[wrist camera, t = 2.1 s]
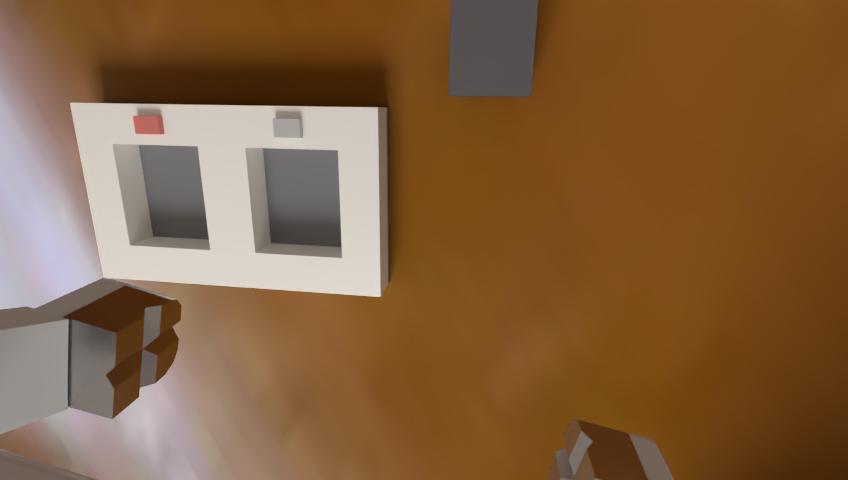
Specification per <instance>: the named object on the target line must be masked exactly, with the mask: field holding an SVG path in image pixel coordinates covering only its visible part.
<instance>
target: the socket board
mask: <svg viewBox="0 0 848 480" xmlns="http://www.w3.org/2000/svg"><path fill="white" fill-rule="evenodd" d="M70 106H71V111H72V116H73V121H74V126H75V132H76V137H77V142H78V147H79V152H80V157H81V163H82V168H83V173H84V178H85V183H86V188H87V194H88V199H89V204H90V209H91V214H92V219H93V224H94V230H95V235H96V240H97V245H98V250H99V255H100V261H101V266H102V271H103V276H104V277H105V278H120V279H134V280H148V281H162V282H176V283H191V284H205V285H219V286H233V287H247V288H262V289H276V290H290V291H304V292H318V293H333V294H347V295H361V296H375V297H381V295H382V294H383V292H384V290H385V289H386V287H387V285H388V283H389V282H390V274H389V154H388V107H338V106H271V105H205V104H138V103H70Z"/></svg>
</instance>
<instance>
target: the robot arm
mask: <svg viewBox="0 0 848 480" xmlns="http://www.w3.org/2000/svg"><path fill="white" fill-rule="evenodd" d="M180 320H181V304H180V303H179V302H178V300H176V299H173V298H170V297H167V296H164V295H161V294H158V293H155V292H151V291H148V290H145V289H142V288H139V287H136V286H131V285H130V284H127V283H123V282H120V281H116V280H113V279H105V278H102V279H100V280H98V281H95V282H93V283H91V284H89V285H87V286H84V287H82V288H80V289H78V290H75V291H73V292H71V293H69V294H66V295H64V296H62V297H60V298H58V299H55V300H53V301H51V302H49V303H46V304H44V305H42V306H40V307H37V308H35V309H33V308H30V307H19V308H11V309H3V310H0V434H2V433H5V432H8V431H10V430H13V429H15V428H18V427H21V426H23V425H26V424H29V423H31V422H34V421H37V420H39V419H42V418H45V417H47V416H50V415H53V414H55V413H58V412H61V411H63V410H66V409H67V408H68V407H71V408H75V409H78V410H82V411H85V412H89V413H93V414H96V415H100V416H103V417H107V418H110V419H113V418H114V417H115V416H117V415H118V414H119V413H120V412H121V411H123V410H124V409H125V408H126V407H127V406H129V405H130V404H131V403H132V402H133V401H135V400H136V399H137V398H138V397H139V389H140V387H143V386H147V385H150V384H154V383H156V382H157V381H158V380H159V379H160V378H161V377H163V376H164V375H165V374H166V372H167V371H168V369H169V368H170V366H171V365H172V363H173V361H174V359H175V356H176V353H177V349H178V340H179V339H178V337H177V335H176V333H175V331H174V329H173V326H175V325H176V324H177V323H178V322H179V321H180ZM563 435H564V440H565V444H566V447H565V448H563V449H561V450H560V451H558V452H556V453H555V456H554V459H553V461H552V464H551V466H550V472H549V477H548V480H674V479H673V477H672V475H671V473H670V471H669V469H668V467H667V465H666V463H665V461H664V459H663V457H662V455H661V453H660V451H659V449H658V447H657V445H656V443H655V442H654V441H652V440H651V439H650V438H646V437H642V436H638V435H634V434H630V433H627V432H622V431H618V430H614V429H611V428H607V427H603V426H600V425H596V424H592V423H589V422H585V421H581V420H578V419H574V418H572V420H571V421H570V422H569V424H568V425H567V428H566V430H565V432H564V434H563ZM0 480H96V479H93V478H90V477H87V476H84V475H81V474H78V473H75V472H71V471H68V470H65V469H62V468H59V467H56V466H53V465H50V464H46V463H43V462H40V461H37V460H34V459H31V458H28V457H25V456H22V455H18V454H15V453H12V452H9V451H6V450H3V449H0Z"/></svg>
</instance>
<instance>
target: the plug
mask: <svg viewBox="0 0 848 480" xmlns="http://www.w3.org/2000/svg"><path fill="white" fill-rule="evenodd" d="M537 12H538V0H451V22H450V59H449V95H450V96H455V97H529V96H531V92H532V79H533V65H534V52H535V39H536V25H537Z"/></svg>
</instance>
